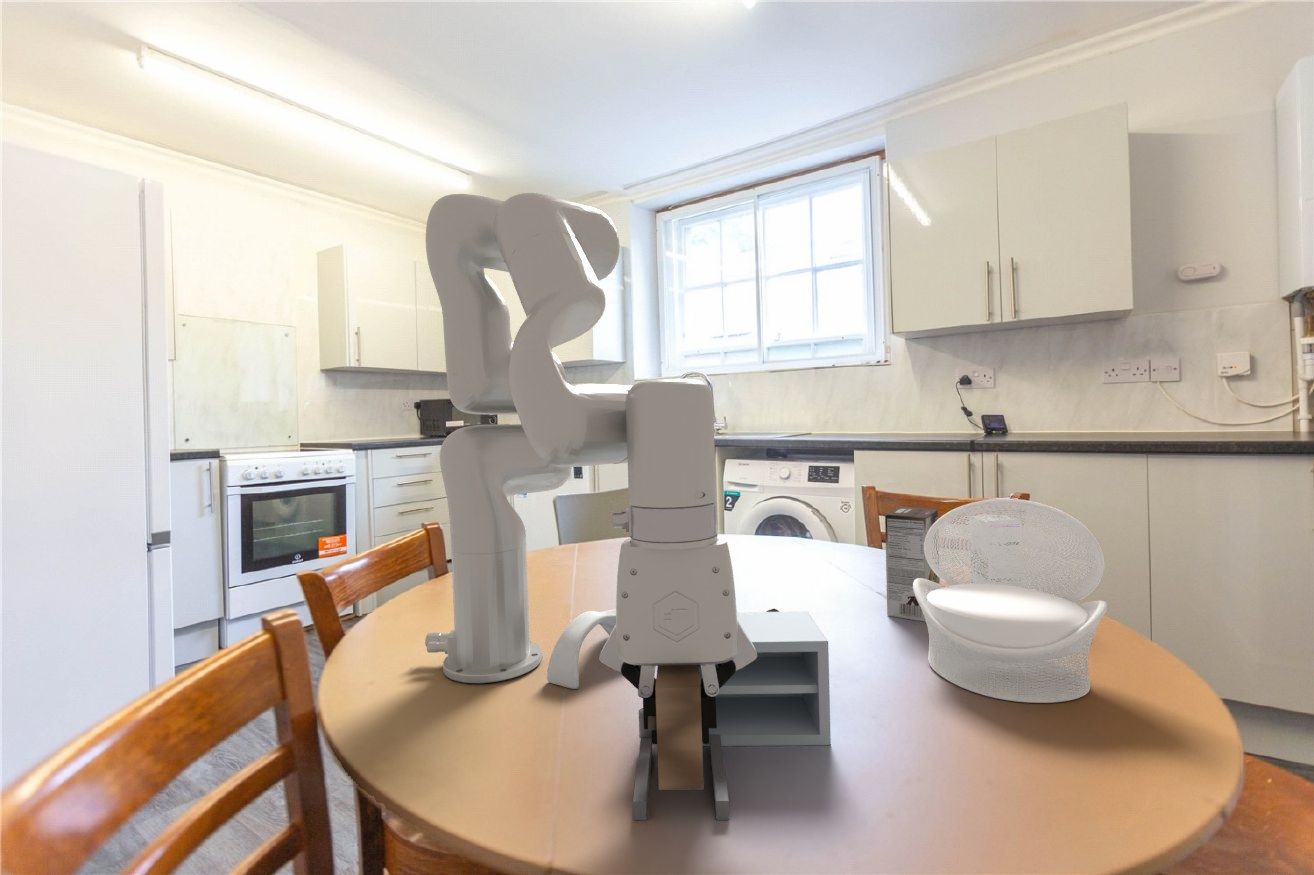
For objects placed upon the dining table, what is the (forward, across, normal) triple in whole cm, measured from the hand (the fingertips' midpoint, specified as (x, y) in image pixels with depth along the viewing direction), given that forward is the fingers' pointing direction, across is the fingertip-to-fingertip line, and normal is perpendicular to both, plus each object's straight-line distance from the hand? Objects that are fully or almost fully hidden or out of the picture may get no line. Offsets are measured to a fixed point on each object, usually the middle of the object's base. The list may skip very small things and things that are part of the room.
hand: (680, 733), depth 52 cm
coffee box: (+4, +37, +45) cm, 59 cm away
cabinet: (+4, +5, +5) cm, 8 cm away
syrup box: (+4, +51, +47) cm, 70 cm away
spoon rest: (+5, -9, +29) cm, 31 cm away
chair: (+5, +39, +22) cm, 45 cm away
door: (+2, 0, 0) cm, 2 cm away
